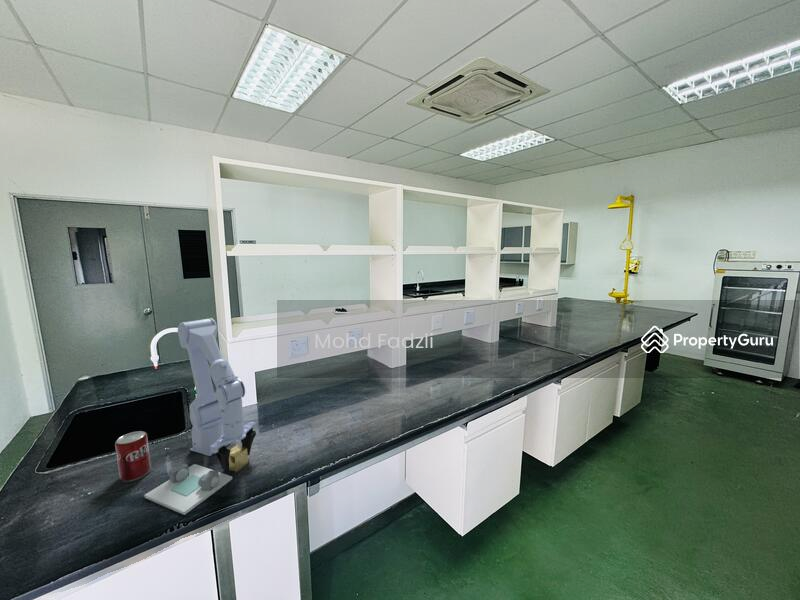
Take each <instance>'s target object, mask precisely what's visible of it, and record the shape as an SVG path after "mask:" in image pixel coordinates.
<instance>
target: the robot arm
mask: <svg viewBox="0 0 800 600" xmlns="http://www.w3.org/2000/svg"><path fill="white" fill-rule="evenodd" d="M177 335H178V341H179V344H180V347H181V348H182V349H186V350H187V354H188V358H189V363H190V367H191V373H192V377H193V382H194V383H193V384H194V387H195V391H196V397H195V399H193V401H192V402H191V403H190V405H189V419H190V423H191V425H192V428H191V433H190V434H191V440H192V447H191V448H190V451H192V452H195V453H198V454H202V455H205V456H208V457H210V456H212V455H214V456H215V457H216V458H217V460H218V461H219V464H220V466H221V469H222V470H225V471H229V455H230V451H231V450H230V449H228V448H227V446H228V445H230V444H231V443H233V442H236V441H238V440H240V443H241V447H244V448H247V455H248V456H249V455H250V454H251V450H252V445H253V441H254V439H255V437H256V436H257V432H256V430H255V429H256V428H257V427H256V422H252V421H250V422H248V423H246V424H245V420H244V410H243V398H244V397H245V396H246V388H245V384H244V382H243V381H242V379H240V378H239V376H235V373H234V371H233V368H232V367H231V364H230V363H229V361H228V360H227V359H226V360H225V359H224V358H223V356H222V354H221V351H220V348H219V345H218V342H217V339H216V338H217V335H218V324H217V321H216V320H215V319H213V318H212V317H210V318H209V317H208V318H205V319H204V318H203V319H197V320H190V321H182V322H180V323H179V324H178V326H177ZM209 364H210V366H209ZM212 381H213V382H212ZM213 383H214V386H215V388H216V389H215V390H214V386H213Z"/></svg>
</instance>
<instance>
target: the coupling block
mask: <svg viewBox="0 0 800 600" xmlns="http://www.w3.org/2000/svg"><path fill="white" fill-rule="evenodd" d="M229 450H231V451H230V455H229V469H228V471H232V472H235V473H237V472H238V471H240V469H241V470H242V468H243V467H245V466H246V465H248V463H249V455H247V448H244V447H242V446H241V445H235V446H233V447H232V448H231V449H229Z"/></svg>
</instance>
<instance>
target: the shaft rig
mask: <svg viewBox="0 0 800 600" xmlns="http://www.w3.org/2000/svg"><path fill="white" fill-rule="evenodd" d="M168 476H169V479H168V480H166V481H165V482H163V483H162V484H160V485H158V486H157V487H155V488H153V489H152V490H150V491H148V492H147V493H145V494H144V495H143V496H144V499H147V500H149V501H151V502H153V503H156V504H158V505H161V506H163V507H165V508H168V509H169V510H172V511H174V512H176V513H178V514H181V515H184V516H185V515H187V513H189V512H191V511H192V510H193V509H194V508H196V507H197V506H199V505H200V504H202V503H203V502H204V501H206V500H207V499H208V498H210V496H212V495H213V494H215V493H216V492H217V491H218V490H220V489H221V488H223V486H225V485H227V484H228V483H229V482H230V481H232V480H233V476H231V475H229V474H226V473H223V472H220V471H219V470H213V469H211V468H208V467H205V466H202V465H199V464H196V463H194V464H192V465H190V466H189V465H188V464H187V463H185V462H182V463H181V464H178V465H176V466H174V467H172V468H170V469H168Z"/></svg>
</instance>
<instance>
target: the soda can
mask: <svg viewBox="0 0 800 600" xmlns="http://www.w3.org/2000/svg"><path fill="white" fill-rule="evenodd" d="M114 447H115V455H116V460H117V461H116V462H117V467H118V468H117V469H118V474H119V479H120V480H121V481H122V482H125V483H126V482H127V483H129V482H133V481H134V482H135V481H137V480H139V479H142V478H143V477H145V476H146V475H147V474H149V472H150V471H151V470H152V464H151V456H150V455H151V454H150V449H149V440H148V433H147V432H146V431H142V430H139V431H137V430H136V431H132V432H129V433H126V434H123V435H122V436H120V437H119V438H117V440H116V441H115V443H114Z"/></svg>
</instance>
